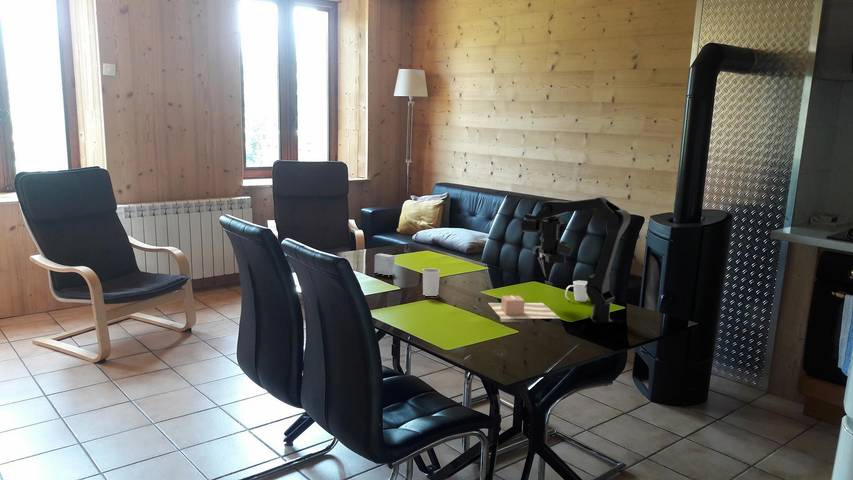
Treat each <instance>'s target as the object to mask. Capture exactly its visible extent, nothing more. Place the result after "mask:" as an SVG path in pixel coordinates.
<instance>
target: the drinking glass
mask: <svg viewBox="0 0 853 480" xmlns="http://www.w3.org/2000/svg"><path fill="white" fill-rule="evenodd" d="M440 274H441V270H440V269H438V268H431V267H430V268H429V267H428V268H423V269H422V296H423V295H425V296H437V295H438V296H439V289H440V288H439V287H440V286H439V285H440V276H441V275H440ZM425 296H424V297H425ZM438 296H437V297H438Z"/></svg>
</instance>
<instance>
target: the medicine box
mask: <svg viewBox="0 0 853 480" xmlns="http://www.w3.org/2000/svg"><path fill="white" fill-rule="evenodd" d="M395 258H396V257H395V255H392V254H385V253H376V254H374V270H373V273H378V274H383V275H382V276H384V275H388V276H387V277H390V276H389V275H392V276H394V275H395ZM378 274H377V275H378ZM393 274H394V275H393Z"/></svg>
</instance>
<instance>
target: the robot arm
mask: <svg viewBox="0 0 853 480" xmlns="http://www.w3.org/2000/svg"><path fill="white" fill-rule="evenodd" d="M587 210H596V211H597V212H598V213H599V214H600V215H601V217H602V218H604V219H605V220H606V229H605V230H606V237H605V241H604V245H603V247H602V252H601V254H600V257H599V260H598V264H597V267H596V269H595V270H596V271H595V273H594V274H592V275H589V276H588V277H587V280H586V281H587V285H586V286H585V288H586V287H587V288H586V293H587V295H588V298H589V302H590V305H592V306H593V307H592V316H591V315H590V316H588V319H589V320H591V321H592V322H594V323H595V324H596V323H597V324H600V323H601V324H602V323H603V324H604V323H610V324H611V323H613V322H614V321H613V320H612V319H611V318H610V315H611V314H610V311H611V303H613V302H614V300H615V298H616V296H615V295H614V294H613V293H612V291H611V290H610V283H611V282H610V273H611V269H612V266H613V263H614V259H615V257H616V252H617V249H618V246H619V242H620V239H621V237H622V236H623V234H624V233H625V231H626V230H627V228H628V226H629V224H630V222H631V220H632V219H631V214H630V213H629V211H627V210H626V209H621V208H620V207H619V206H618V205H616V204H614V203H613V202H611V201H610V200H608V199H607V198H606V197H604V196H598V197H594V198H586V199H578V200H573V201H566V200H556V199H555V200H547V201H544V202H542V204H541V206H540V209H539V210H538V212H537V213H536V214H531V213H525V214H524V218H523V219H522V222H521V225H520V226H521V227H520V228H521V231H522V232H523V233H530V234H540V233H541V235H540V237H539V240H540V241H541V242H540V245H537V246H536V245H535V246H534V247H532V248H531V249H532V250H531V252H532V254H533V255H537V254H539V256H537V259H538V263H539V265H540V268H541V269H542V272H543V275H544V277H545V278H547V279H548V278H550V275H551V272H552V270H553V267H554V265H555V264H565V263H566V258H567V257H566V256H568V257H570V256H571V253H572V251H573V249H574V248H573V247H571V246H568V245H567V244H566V241H563V240H562V239H559V238H558V237H559V236H558V234H559V233H558V232H559V225H563V224H565V221H564V220H563V219H562V218H561V217H560V216H561V215H563V214H567V213H571V212H572V213H573V212H578V211H579V212H581V211H587ZM557 216H558V217H557ZM551 217H556V218H551ZM544 219H545V220H544ZM565 255H566V256H565Z"/></svg>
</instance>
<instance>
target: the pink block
mask: <svg viewBox="0 0 853 480" xmlns="http://www.w3.org/2000/svg"><path fill="white" fill-rule="evenodd" d="M501 303H502V305H501V310H502V311H503V312H504V313H505V314H524V303H525V299H524V298H523V297H521V295H501Z"/></svg>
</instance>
